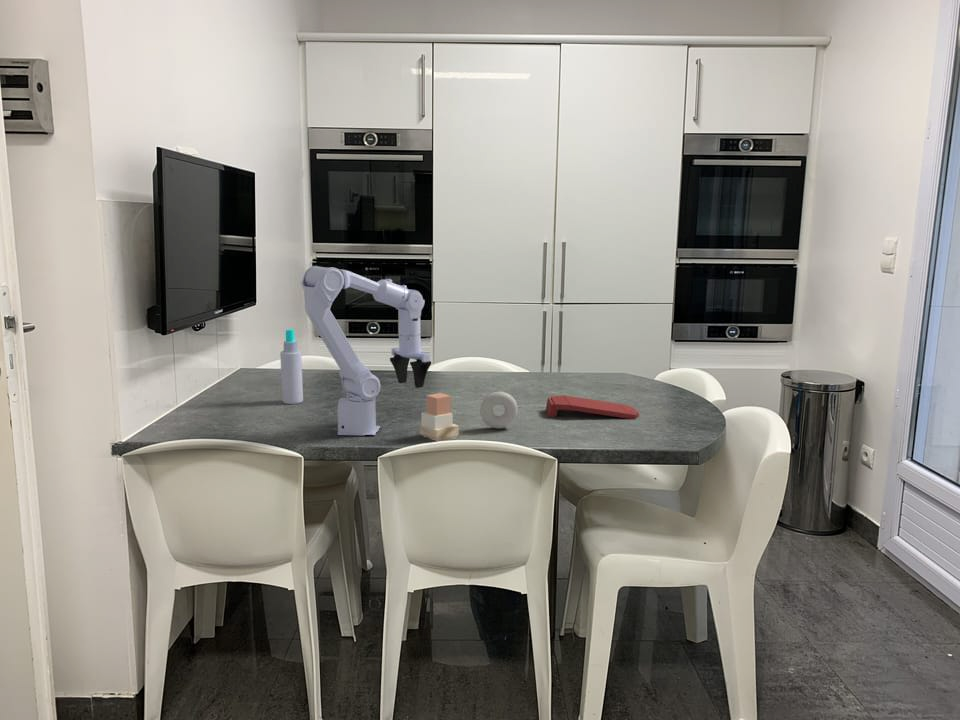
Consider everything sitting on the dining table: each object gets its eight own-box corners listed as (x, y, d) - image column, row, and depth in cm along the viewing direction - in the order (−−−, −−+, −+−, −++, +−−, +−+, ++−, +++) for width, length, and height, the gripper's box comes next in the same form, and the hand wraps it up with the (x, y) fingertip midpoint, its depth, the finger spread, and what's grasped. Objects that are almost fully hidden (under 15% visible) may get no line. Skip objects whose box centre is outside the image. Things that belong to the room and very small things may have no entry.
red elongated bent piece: (628, 421, 215) (544, 408, 214) (631, 405, 215) (547, 392, 213) (637, 432, 203) (549, 419, 202) (641, 415, 203) (552, 402, 201)
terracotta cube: (436, 415, 181) (436, 398, 180) (426, 412, 184) (426, 395, 183) (451, 413, 184) (451, 396, 183) (440, 409, 187) (440, 393, 186)
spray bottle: (297, 405, 217) (294, 331, 213) (278, 403, 218) (275, 330, 214) (306, 400, 222) (303, 328, 219) (288, 399, 224) (285, 328, 220)
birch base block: (436, 443, 180) (436, 430, 179) (420, 436, 185) (419, 424, 185) (458, 437, 185) (458, 425, 184) (441, 432, 190) (441, 420, 189)
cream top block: (435, 429, 180) (434, 416, 180) (421, 424, 185) (421, 412, 184) (452, 425, 184) (452, 413, 183) (439, 421, 188) (439, 409, 188)
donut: (480, 430, 190) (480, 393, 188) (479, 427, 193) (479, 390, 191) (518, 429, 191) (519, 392, 189) (516, 426, 194) (516, 389, 192)
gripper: (438, 336, 190) (439, 387, 193) (405, 330, 201) (406, 378, 204) (416, 339, 186) (417, 391, 188) (384, 333, 196) (385, 382, 199)
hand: (410, 384), depth 196 cm, fingers open, 7 cm apart
